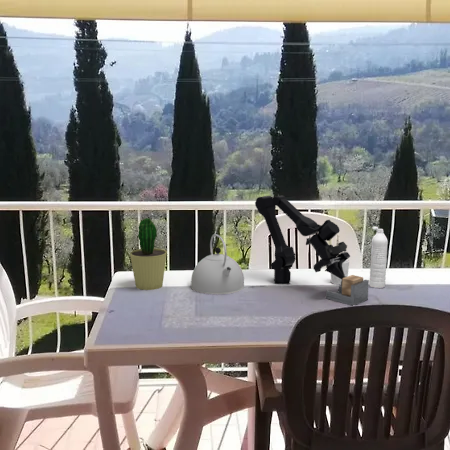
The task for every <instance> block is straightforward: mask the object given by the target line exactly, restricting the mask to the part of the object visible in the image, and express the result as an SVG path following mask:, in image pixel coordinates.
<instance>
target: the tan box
mask: <svg viewBox="0 0 450 450" xmlns="http://www.w3.org/2000/svg"><path fill="white" fill-rule="evenodd" d="M363 280H364V277H363V276H359V275H354V274H350V275H348V277H346V276H345V277H343V279H342V281H341V285H340V286H341V287H342V294H343V295H347V296H351V285H353V284H355V283H358V282H360V281H363Z"/></svg>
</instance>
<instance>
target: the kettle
mask: <svg viewBox="0 0 450 450" xmlns="http://www.w3.org/2000/svg"><path fill="white" fill-rule="evenodd" d="M215 237H216V238H219V239H220V241H221V242H222V245H223V249H224V250H223V252H224V254H221V251H222V249H221V247H219V246H217V247H215V248H214V254H213V240H214V238H215ZM209 248H210V254H209V255H206V256H205V257H203V258H202V259H201V260H199V262H198V263H196V265H195V267H194V269H193V271H192V274H191V281H190V282H191V283H190V288H191V289H192V291H194V292H197V293H200V294H205V295H212V296H213V295H216V296H218V295H221V296H222V295H230V294H235V293H239V292H241V291H243V290H244V289H245V276H244V272H243V269H242V268H241V266H240V265H239V263H238V262H237V261H236V260H235V259H234V258H232V257H230V256H229V255H227V254H228V252H227V245H226V242H225V241H224V239H223V237H222V236H220V234H216V233H214V234H212V235H211V238H210V242H209Z"/></svg>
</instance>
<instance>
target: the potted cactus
mask: <svg viewBox="0 0 450 450" xmlns="http://www.w3.org/2000/svg"><path fill="white" fill-rule="evenodd" d="M153 220H154V219H152V218H149V217H145V218H142V220H140V221H139V222H138V223H137V226H138V227H136V229H138V230H137V232H138V233H137V241H138V246H139V248H138V249H135V250H132V251H130V253H129V255H130V261H131V267H132V272H133V277H134V278H133V279H134V284H135V287H136V288H137V289H138V290H141V291H153V290H159V289H161V288H162V287H163V285H164V284H163V283H164V277H165V276H164V275H165V269H166V261H167V253H168V251H167V250H165V249H163V248H155V246H156V244H157V238H158V237H159V234H160V232H159V231H158V228H157V226H156V224H155V223H154V221H153ZM137 241H136V242H137Z"/></svg>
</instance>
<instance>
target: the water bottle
mask: <svg viewBox="0 0 450 450" xmlns="http://www.w3.org/2000/svg"><path fill="white" fill-rule="evenodd" d="M371 229H372V230H376V233H375V234H374V236H372V239H371V253H370V269H369V270H370V271H369V287H371V288H374V289H383V288H385V287H386V278H387V277H386V275H387V274H386V273H387V272H386V271H387V261H388V259H387V256H388V244H389V243H388V242H389V241H388V238H387V236H386V235H385V233H384V229H383V228H379V226H372V228H371Z"/></svg>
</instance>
